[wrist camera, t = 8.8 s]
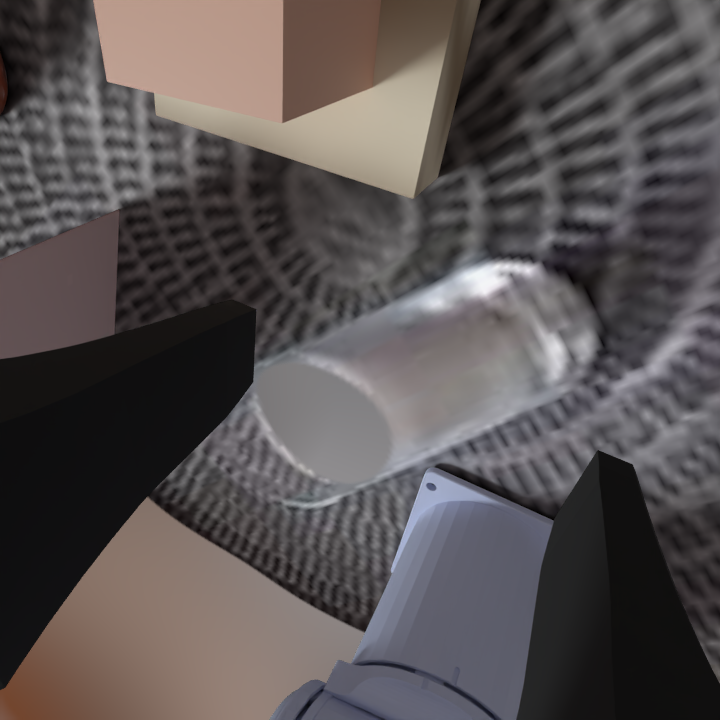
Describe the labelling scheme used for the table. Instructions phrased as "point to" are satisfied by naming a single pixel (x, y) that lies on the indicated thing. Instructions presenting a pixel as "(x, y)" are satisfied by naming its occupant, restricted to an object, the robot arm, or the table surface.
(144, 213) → the table surface
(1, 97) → the supplement bottle
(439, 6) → the birch block
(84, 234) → the greeting card
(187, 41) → the terracotta cube
